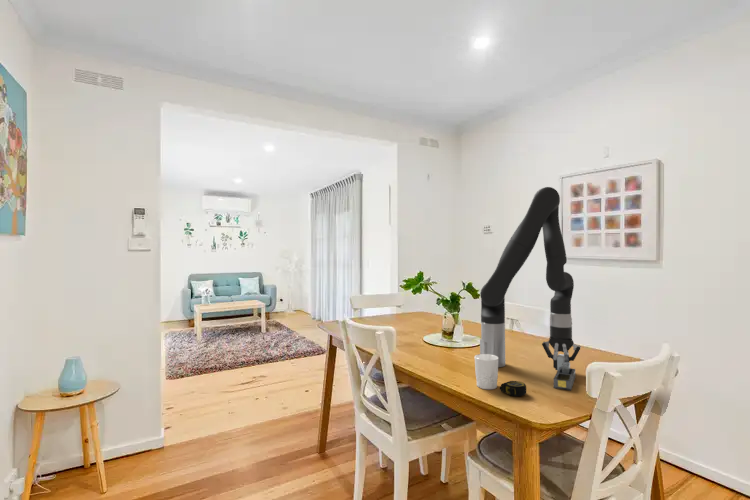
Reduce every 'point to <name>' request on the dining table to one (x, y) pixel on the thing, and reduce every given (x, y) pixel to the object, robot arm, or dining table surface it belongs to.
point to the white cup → (486, 371)
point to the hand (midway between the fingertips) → (561, 370)
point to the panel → (560, 360)
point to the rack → (564, 377)
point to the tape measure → (513, 388)
